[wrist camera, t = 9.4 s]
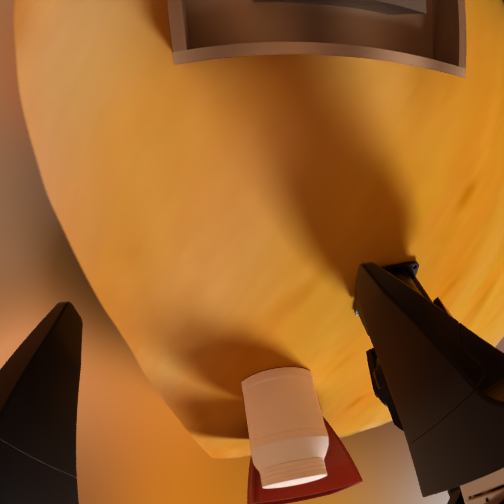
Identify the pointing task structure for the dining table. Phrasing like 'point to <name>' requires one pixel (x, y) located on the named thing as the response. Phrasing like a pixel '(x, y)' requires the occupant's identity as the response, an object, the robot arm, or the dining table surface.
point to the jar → (285, 427)
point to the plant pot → (337, 479)
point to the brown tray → (319, 32)
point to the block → (370, 5)
